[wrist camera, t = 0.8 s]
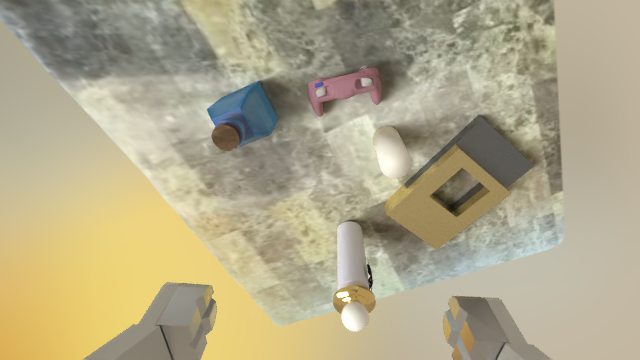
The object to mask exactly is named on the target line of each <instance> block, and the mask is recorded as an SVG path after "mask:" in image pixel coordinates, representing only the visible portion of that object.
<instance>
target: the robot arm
mask: <svg viewBox="0 0 640 360" xmlns="http://www.w3.org/2000/svg"><path fill="white" fill-rule="evenodd" d="M213 292H214V291H213V288H212V286H211V285H201V284H187V283H171V282H167V283H166V284H164V285H163V286H162V288H161V289H160V291H159V293H158V294H157V295H156V297H155V299H154V300H153V302H152V303H151V305H150V306H149V308H148V310H147V311H146V313H145V314H144V316H143V318H142V319H141V321H140V322H139V324H138V325H132V326H131V327H129V328H128V329H126V330H125V331H123V332H122V333H120V334H119V335H118V336H116V337H115V338H113V339H112V340H110V341H109V342H107V343H106V344H105V345H103V346H102V347H100V348H99V349H97V350H96V351H94V352H93V353H92V354H90V355H89V356H87V357H86V358H85V359H83V360H200V359H201V356H202V354H203V351H204V349H205V346H206V344H207V341H206V336H205V335H207V334H208V333H209V332H210V331H211V330H212V328H213V326H214V323H215V318H216V313H217V311H216V310H217V306H216V301H215V300H214V299H212V295H213ZM448 305H449V307H450V309H449V310H448V311H447V312H445V315H444V319H443V329H444V334H445V337H446V340H447V342H448V343H449V344H450V345H451V346H452V347H453V348H454V351H453V353H452V357H453V360H552V359H551V358H549V357H548V356H547V355H545V354H544V353H543V352H542V351H540V350H539V349H538V348H536V347H535V346H534V345H530V344H527V342H526V340H525V339H524V337H523V335H522V333H521V332H520V330H519V328H518V327H517V325H516V324H515V322H514V320H513V319H512V317H511V315H510V314H509V312H508V310H507V309H506V307H505V305H504V304H503V302H502V301H501V300H500V299H499V298H482V297H464V296H452V297H451V298H450V300H449V303H448Z"/></svg>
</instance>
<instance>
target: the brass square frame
mask: <svg viewBox="0 0 640 360" xmlns="http://www.w3.org/2000/svg"><path fill="white" fill-rule="evenodd" d="M532 167H534V165H533V164H532V163H531V162H530V161H529V160H527V159H526V158H525V157H524V156H523V155H522V154H521V153H520V152H519V151H518V150H517V149H516V148H515V147H513V146H512V145H511V144H510V143H509V142H508V141H507V140H506V139H505V138H504V137H503V136H502V135H501V134H499V133H498V132H497V131H496V130H495V129H494V128H493V127H492V126H491V125H490V124H489V123H488V122H487V121H485V120H484V119H483V118H482V117H481V116H479V115H478V116H477V117H476V118H475V119H474V120H473V121H472V122H471V123H470V124H469V125H467V126H466V127H465V128H464V129H463V130H462V131H461V132H460V133H459V134H458V135H457V136H456V137H455V138H454V139H452V140H451V141H450V142H449V143H448V144H447V145H446V146H445V147H444V148H443V149H442V150H441V151H440V152H438V153H437V154H436V155H435V156H434V157H433V158H432V159H431V160H430V161H429V162H428V163H427V164H426V165H425V166H423V167H422V168H421V169H420V170H419V171H418V172H417V173H416V174H415V175H414V176H413V177H412V178H411V179H410V180H408V181H407V182H406V183H405V184H404V185H403V186H402V187H401V188H400V189H399V190H398V191H397V192H396V193H394V194H393V195H392V196H391V197H390V198H389V199H388V200H387V201H386V202H385V203H384V207H385V211H386V215H388V216H389V217H391V218H392V219H394V220H395V221H396V222H398V223H399V224H401V225H402V226H404V227H405V228H406V229H408V230H409V231H411V232H412V233H414V234H415V235H416V236H418V237H419V238H421V239H422V240H423V241H425V242H426V243H428V244H429V245H431V246H432V247H433V248H435V249H436V250H437V249H438V248H440V247H441V246H442V245H444V244H445V243H446V242H448V241H449V240H450V239H452V238H453V237H454V236H456V235H457V234H458V233H459V232H461V231H462V230H463V229H465V228H466V227H467V226H469V225H470V224H471V223H473V222H474V221H475V220H477V219H478V218H479V217H481V216H482V215H483V214H484V213H486V212H487V211H488V210H490V209H491V208H492V207H494V206H495V205H496V204H498V203H499V202H500V201H502V200H503V199H504V198H506V197H507V196H508V195H509V194H511V192H510V191H509V190H508V189H507V187H508V186H509V185H510V184H512V183H513V182H514V181H516V180H517V179H518V178H519V177H521V176H522V175H523V174H525V173H526V172H527V171H528V170H530V169H531V168H532ZM461 168H463V169H464V170H466V171H467V172H468V173H469V174H470V175H472V176H473V177H474V178H475V179H476V180H478V181H479V182H480V183H478V184H477V185H476V186H475V187H473V188H472V189H471V190H470V191H469V192H467V193H466V194H465V195H464V196H462V197H461V198H460V199H459V200H458V201H456V202H455V203H454V204H453V205H451V206H449V205H448V204H446V203H445V202H444V201H443V200H441V199H440V198H439V197H437V196H436V195H435V194H434V192H435V191H436V190H437V189H438V188H439V187H441V186H442V185H443V184H444V183H445V182H446V181H447V180H449V179H450V178H451V177H452V176H453V175H454V174H455V173H457V172H458V171H459V170H460V169H461Z"/></svg>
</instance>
